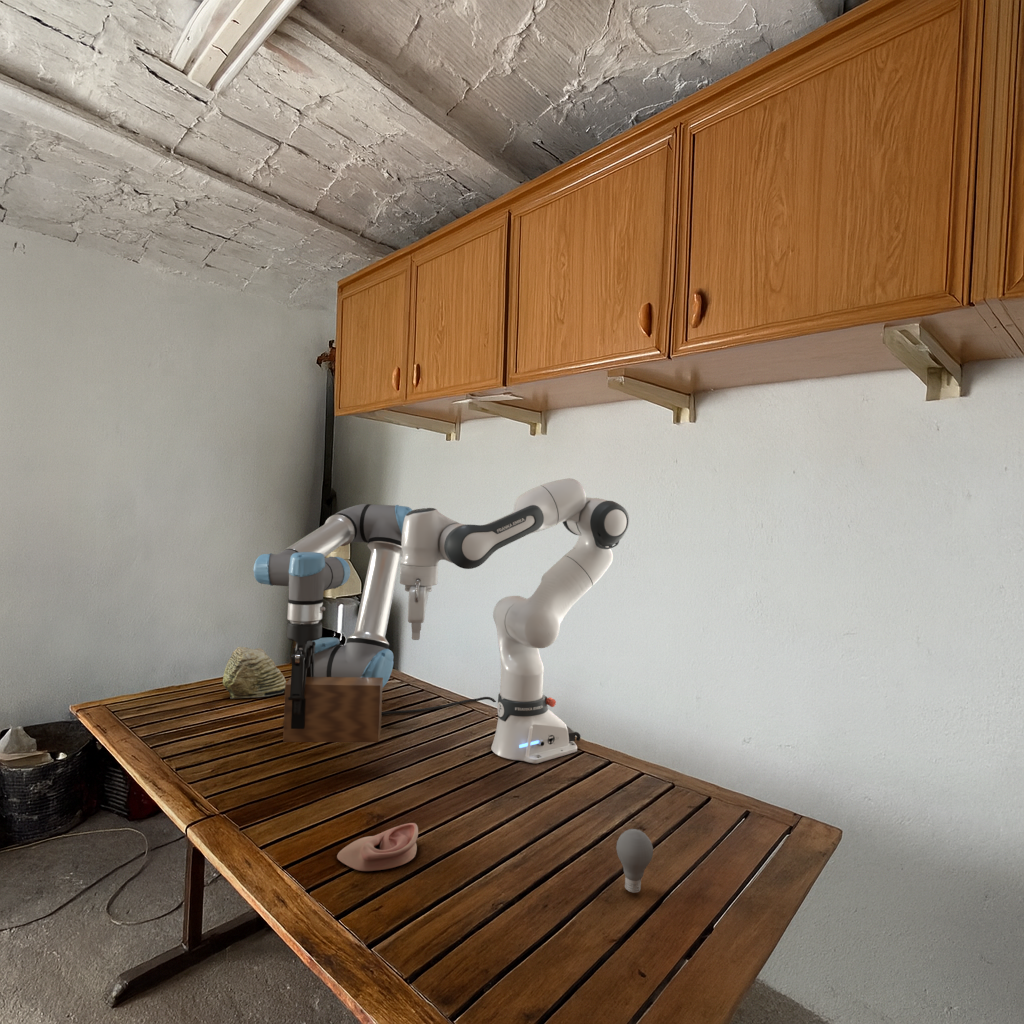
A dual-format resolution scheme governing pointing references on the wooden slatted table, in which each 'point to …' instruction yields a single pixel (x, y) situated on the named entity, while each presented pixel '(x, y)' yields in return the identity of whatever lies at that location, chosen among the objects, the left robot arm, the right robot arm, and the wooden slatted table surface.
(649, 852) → the light bulb
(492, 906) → the wooden slatted table surface
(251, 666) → the fossil
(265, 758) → the wooden slatted table surface
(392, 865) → the anatomical model
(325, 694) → the box
